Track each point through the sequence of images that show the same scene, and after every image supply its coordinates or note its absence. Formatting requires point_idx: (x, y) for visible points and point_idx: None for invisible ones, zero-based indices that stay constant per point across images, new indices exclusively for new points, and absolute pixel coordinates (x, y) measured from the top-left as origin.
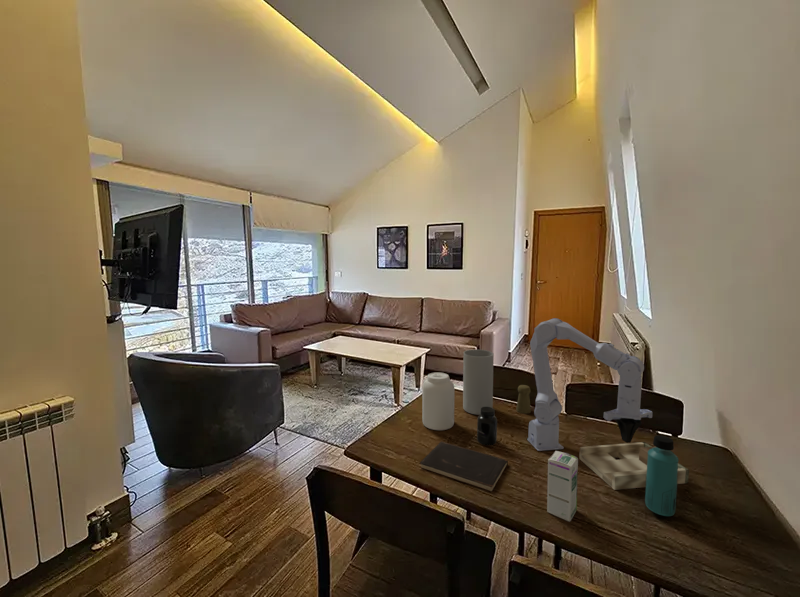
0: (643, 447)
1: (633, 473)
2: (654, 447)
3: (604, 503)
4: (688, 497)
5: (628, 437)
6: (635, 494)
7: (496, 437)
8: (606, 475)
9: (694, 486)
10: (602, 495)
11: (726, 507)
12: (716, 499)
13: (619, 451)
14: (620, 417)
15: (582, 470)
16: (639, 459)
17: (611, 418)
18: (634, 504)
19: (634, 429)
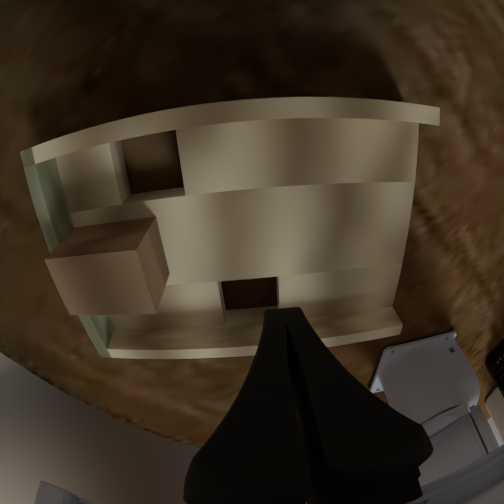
0: (136, 312)
1: (337, 109)
2: (84, 308)
3: (471, 55)
4: (117, 35)
5: (306, 335)
6: (341, 58)
7: (501, 357)
8: (411, 164)
9: (47, 117)
10: (457, 88)
11: (40, 9)
12: (34, 47)
13: (221, 327)
14: (490, 490)
15: (425, 235)
16: (168, 272)
17: (497, 458)
18: (385, 13)
19: (268, 403)
